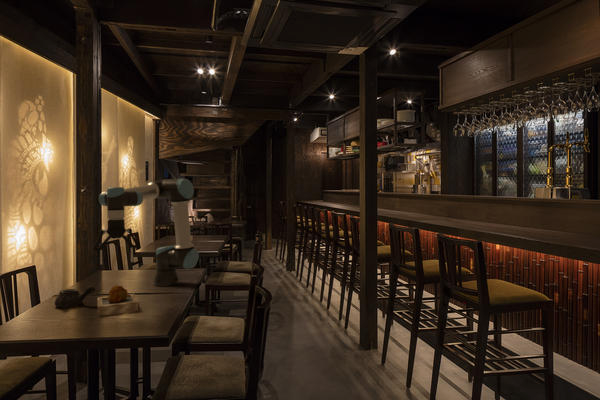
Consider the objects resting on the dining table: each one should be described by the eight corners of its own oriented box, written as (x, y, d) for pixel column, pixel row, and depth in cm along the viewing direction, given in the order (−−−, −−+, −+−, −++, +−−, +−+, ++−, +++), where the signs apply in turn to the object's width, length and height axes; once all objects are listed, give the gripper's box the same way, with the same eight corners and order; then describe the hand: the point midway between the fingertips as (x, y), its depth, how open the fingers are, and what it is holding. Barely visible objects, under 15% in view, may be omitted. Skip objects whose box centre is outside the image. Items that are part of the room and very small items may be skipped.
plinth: (134, 301, 211) (134, 293, 211) (138, 310, 194) (137, 302, 194) (97, 306, 204) (97, 297, 204) (98, 315, 187) (97, 306, 187)
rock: (106, 310, 199) (110, 292, 206) (124, 311, 202) (128, 293, 208) (107, 298, 191) (111, 280, 198) (126, 299, 194) (129, 281, 201)
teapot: (48, 311, 195) (47, 290, 195) (60, 303, 210) (60, 283, 210) (90, 309, 199) (90, 288, 199) (99, 300, 214) (99, 281, 214)
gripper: (142, 217, 207) (143, 259, 208) (87, 219, 196) (88, 263, 197) (144, 218, 201) (145, 261, 201) (86, 220, 189) (87, 266, 190)
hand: (116, 262), depth 199 cm, fingers open, 13 cm apart
